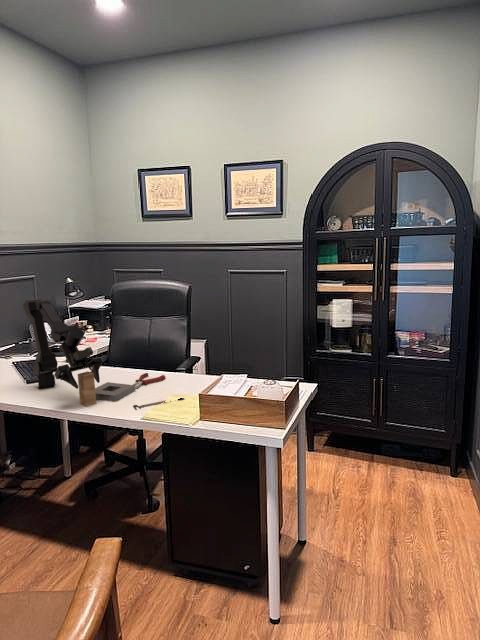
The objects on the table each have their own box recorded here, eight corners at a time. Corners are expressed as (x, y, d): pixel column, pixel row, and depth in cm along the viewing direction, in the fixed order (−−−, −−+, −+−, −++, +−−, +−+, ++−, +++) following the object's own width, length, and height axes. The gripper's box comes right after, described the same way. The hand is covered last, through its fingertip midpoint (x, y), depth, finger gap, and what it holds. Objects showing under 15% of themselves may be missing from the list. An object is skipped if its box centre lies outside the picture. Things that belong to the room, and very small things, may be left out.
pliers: (119, 389, 199) (119, 384, 199) (146, 377, 217) (145, 371, 217) (141, 392, 195) (141, 387, 194) (166, 379, 213) (166, 374, 212)
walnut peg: (80, 404, 180) (77, 374, 178) (90, 401, 184) (87, 371, 182) (86, 406, 178) (83, 375, 175) (96, 403, 181) (93, 373, 179)
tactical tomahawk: (136, 414, 172) (136, 412, 171) (132, 407, 177) (132, 405, 177) (189, 404, 181) (189, 401, 180) (183, 397, 186) (183, 395, 186)
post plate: (87, 397, 188) (86, 392, 187) (107, 387, 201) (107, 382, 200) (115, 401, 183) (115, 395, 182) (135, 390, 196) (134, 385, 195)
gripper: (55, 346, 172) (72, 379, 167) (99, 337, 186) (116, 368, 181) (47, 362, 179) (63, 395, 173) (90, 353, 192) (106, 383, 187)
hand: (88, 385), depth 178 cm, fingers open, 9 cm apart
